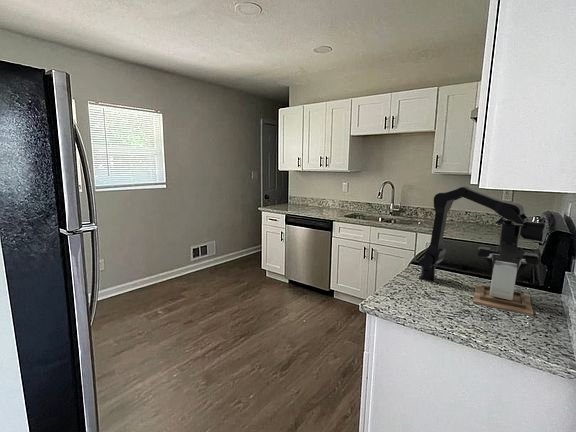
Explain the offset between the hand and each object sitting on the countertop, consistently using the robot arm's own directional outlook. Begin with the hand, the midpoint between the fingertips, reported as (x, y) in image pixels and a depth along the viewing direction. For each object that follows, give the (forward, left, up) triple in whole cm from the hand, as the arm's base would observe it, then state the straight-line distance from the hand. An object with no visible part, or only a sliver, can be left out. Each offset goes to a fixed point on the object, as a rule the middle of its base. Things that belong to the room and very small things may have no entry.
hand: (503, 276), depth 119 cm
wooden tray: (0, 0, -9) cm, 9 cm away
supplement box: (0, 0, -8) cm, 8 cm away
